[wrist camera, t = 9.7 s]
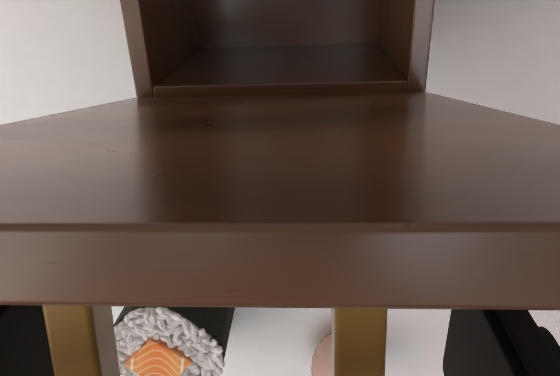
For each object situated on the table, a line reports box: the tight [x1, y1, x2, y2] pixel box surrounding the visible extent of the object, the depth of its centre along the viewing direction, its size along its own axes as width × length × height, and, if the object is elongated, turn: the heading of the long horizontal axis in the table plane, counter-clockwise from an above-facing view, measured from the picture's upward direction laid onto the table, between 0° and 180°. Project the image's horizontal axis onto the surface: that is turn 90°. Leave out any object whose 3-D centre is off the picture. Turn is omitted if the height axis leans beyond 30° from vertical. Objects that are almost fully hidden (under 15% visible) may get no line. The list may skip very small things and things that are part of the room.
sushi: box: [114, 306, 235, 376], centre depth 35 cm, size 8×8×8 cm
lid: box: [0, 92, 560, 376], centre depth 12 cm, size 16×13×5 cm
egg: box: [311, 334, 332, 376], centre depth 37 cm, size 5×5×7 cm
